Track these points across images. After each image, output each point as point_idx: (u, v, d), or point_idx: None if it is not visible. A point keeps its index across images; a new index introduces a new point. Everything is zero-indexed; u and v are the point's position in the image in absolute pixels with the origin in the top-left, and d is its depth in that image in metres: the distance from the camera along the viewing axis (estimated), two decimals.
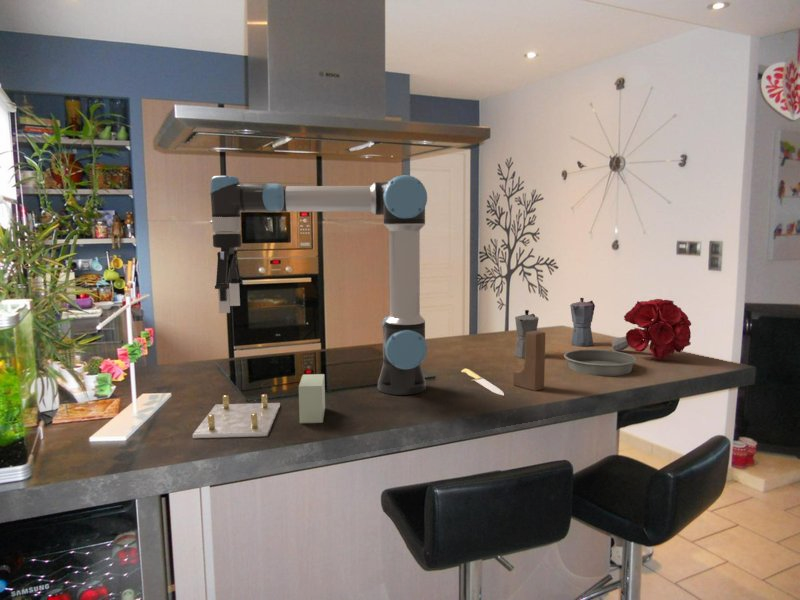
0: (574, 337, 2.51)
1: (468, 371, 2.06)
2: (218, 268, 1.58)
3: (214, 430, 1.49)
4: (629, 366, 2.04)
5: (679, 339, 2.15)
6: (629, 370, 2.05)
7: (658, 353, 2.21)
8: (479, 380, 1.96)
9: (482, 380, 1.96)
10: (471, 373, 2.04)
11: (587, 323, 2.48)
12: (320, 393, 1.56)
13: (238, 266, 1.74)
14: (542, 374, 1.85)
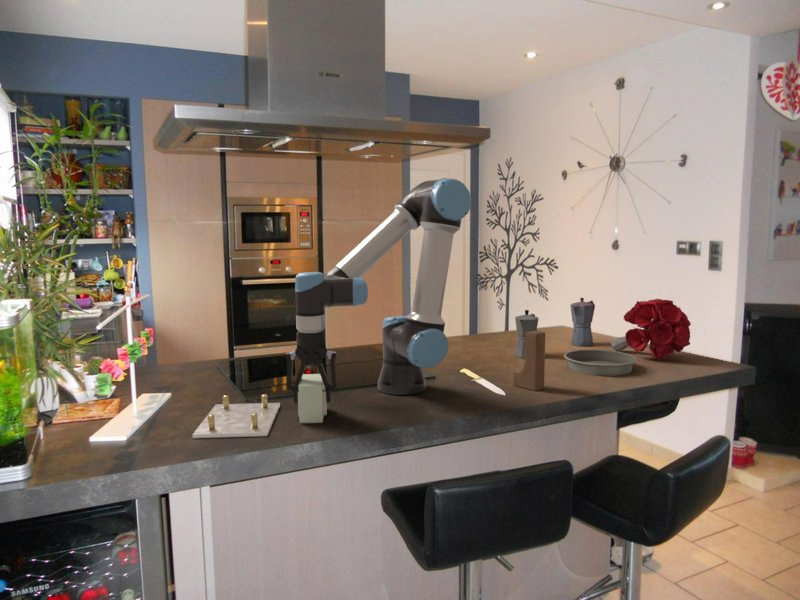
0: (574, 337, 2.51)
1: (467, 371, 2.06)
2: None
3: (214, 430, 1.49)
4: (629, 366, 2.04)
5: (678, 339, 2.15)
6: (629, 370, 2.05)
7: (658, 353, 2.21)
8: (479, 380, 1.96)
9: (482, 380, 1.96)
10: (470, 373, 2.04)
11: (587, 323, 2.48)
12: (320, 393, 1.56)
13: (334, 373, 1.60)
14: (542, 374, 1.85)
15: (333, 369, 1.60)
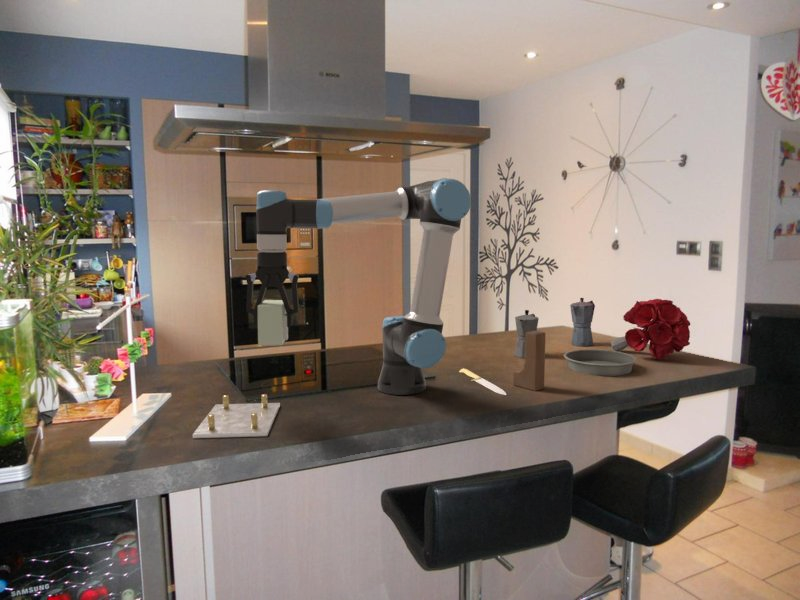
0: (574, 337, 2.51)
1: (466, 371, 2.06)
2: None
3: (214, 430, 1.49)
4: (629, 366, 2.04)
5: (678, 339, 2.15)
6: (629, 370, 2.05)
7: (657, 353, 2.21)
8: (479, 380, 1.96)
9: (482, 380, 1.96)
10: (470, 373, 2.04)
11: (587, 323, 2.48)
12: (280, 314, 1.51)
13: (296, 296, 1.55)
14: (542, 374, 1.85)
15: (295, 292, 1.55)
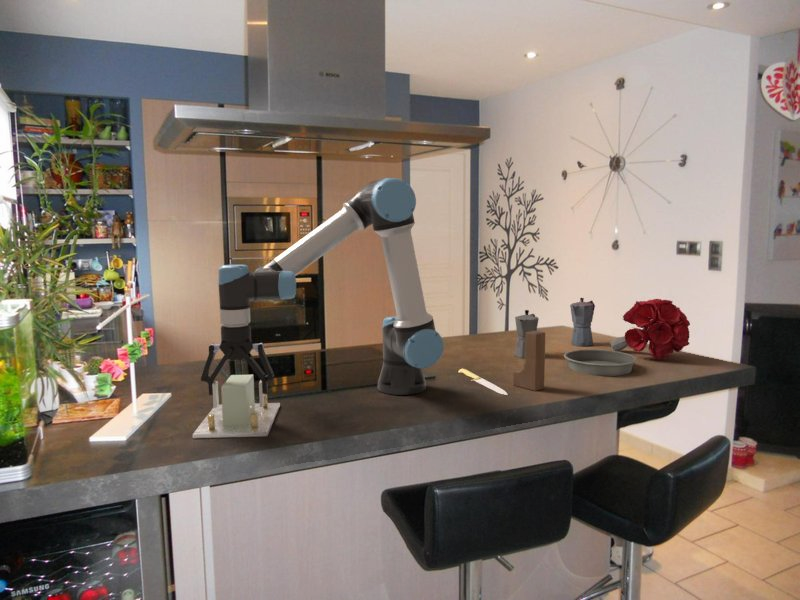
0: (574, 337, 2.51)
1: (465, 371, 2.06)
2: None
3: (214, 430, 1.49)
4: (629, 366, 2.04)
5: (678, 339, 2.15)
6: (629, 370, 2.05)
7: (657, 353, 2.21)
8: (478, 380, 1.96)
9: (481, 380, 1.96)
10: (469, 373, 2.04)
11: (587, 323, 2.48)
12: (244, 394, 1.51)
13: (266, 364, 1.56)
14: (542, 374, 1.85)
15: (264, 360, 1.55)
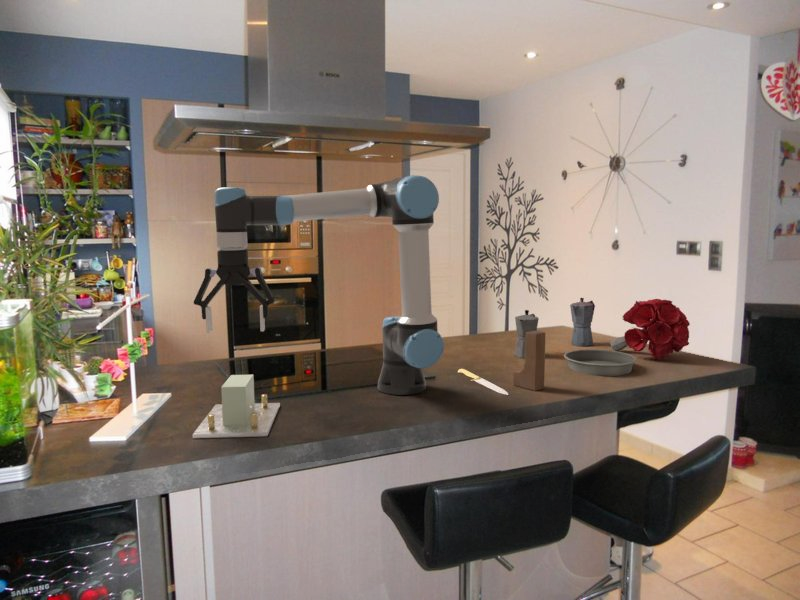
0: (574, 337, 2.51)
1: (465, 371, 2.06)
2: None
3: (214, 430, 1.49)
4: (629, 366, 2.04)
5: (677, 339, 2.15)
6: (629, 370, 2.05)
7: (656, 353, 2.21)
8: (478, 380, 1.96)
9: (481, 380, 1.96)
10: (468, 373, 2.04)
11: (587, 323, 2.48)
12: (244, 394, 1.51)
13: (265, 287, 1.53)
14: (542, 374, 1.85)
15: (263, 284, 1.53)
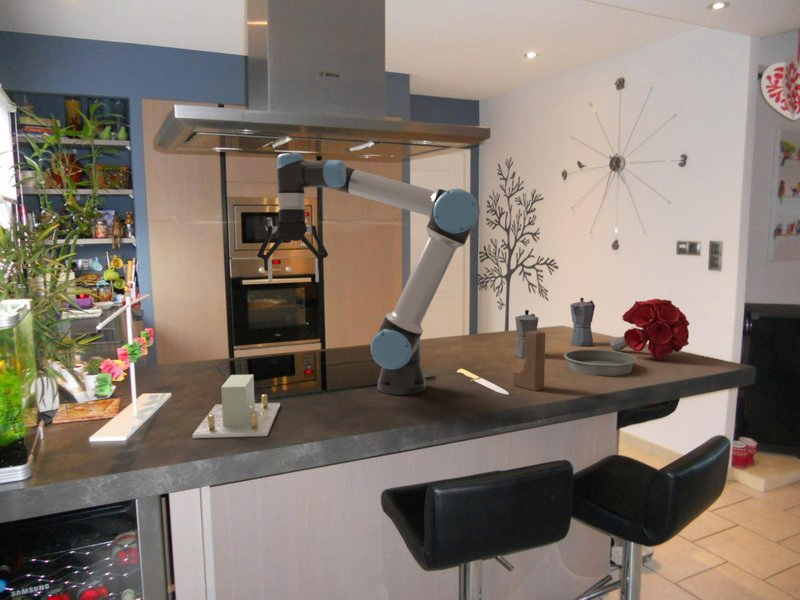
0: (574, 337, 2.51)
1: (464, 371, 2.06)
2: None
3: (214, 430, 1.49)
4: (629, 366, 2.04)
5: (677, 339, 2.15)
6: (629, 370, 2.05)
7: (656, 353, 2.21)
8: (478, 380, 1.96)
9: (481, 380, 1.96)
10: (468, 373, 2.03)
11: (587, 323, 2.48)
12: (244, 394, 1.51)
13: (320, 243, 1.73)
14: (542, 374, 1.85)
15: (318, 240, 1.73)
